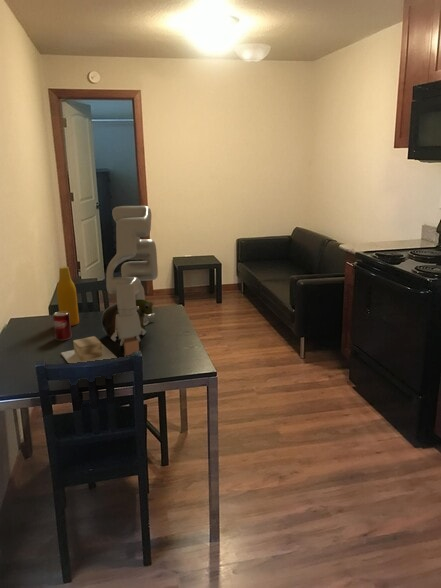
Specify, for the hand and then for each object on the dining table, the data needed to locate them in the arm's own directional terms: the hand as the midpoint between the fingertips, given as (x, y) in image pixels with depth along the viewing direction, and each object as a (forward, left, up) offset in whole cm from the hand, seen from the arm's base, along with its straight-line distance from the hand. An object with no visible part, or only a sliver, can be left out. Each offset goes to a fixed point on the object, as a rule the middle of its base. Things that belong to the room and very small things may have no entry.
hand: (129, 351), depth 202 cm
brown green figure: (-7, -19, -1) cm, 20 cm away
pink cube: (0, 0, -1) cm, 1 cm away
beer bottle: (+11, -53, -1) cm, 54 cm away
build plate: (+16, -6, -1) cm, 17 cm away
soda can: (+19, -34, -1) cm, 39 cm away
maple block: (+16, -6, 0) cm, 17 cm away
